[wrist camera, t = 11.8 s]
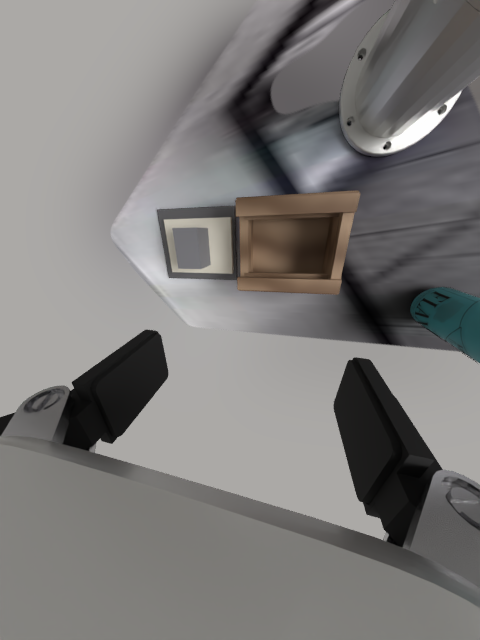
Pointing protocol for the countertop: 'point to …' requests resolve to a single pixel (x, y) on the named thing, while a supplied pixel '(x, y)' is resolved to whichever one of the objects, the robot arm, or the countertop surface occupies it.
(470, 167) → the countertop surface
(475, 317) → the beverage bottle
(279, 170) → the countertop surface
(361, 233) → the countertop surface
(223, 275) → the charcoal mat
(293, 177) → the countertop surface
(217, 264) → the cover plate
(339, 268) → the walnut box
